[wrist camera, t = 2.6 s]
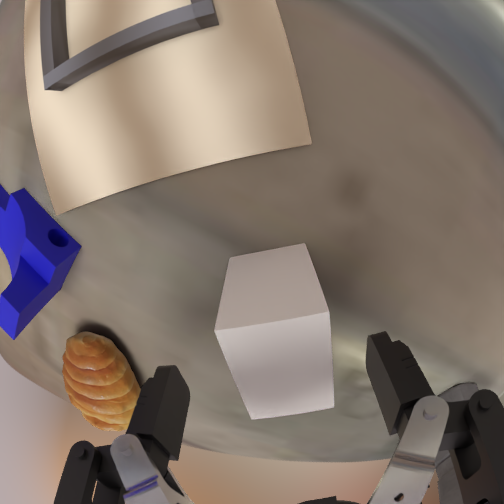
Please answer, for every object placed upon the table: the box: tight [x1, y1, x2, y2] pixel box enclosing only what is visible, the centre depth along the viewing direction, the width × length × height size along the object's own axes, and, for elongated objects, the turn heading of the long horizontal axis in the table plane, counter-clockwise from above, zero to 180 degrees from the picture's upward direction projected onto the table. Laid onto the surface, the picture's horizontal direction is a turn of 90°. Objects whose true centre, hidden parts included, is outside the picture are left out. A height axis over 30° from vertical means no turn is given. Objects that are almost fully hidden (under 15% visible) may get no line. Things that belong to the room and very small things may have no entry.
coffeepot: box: [420, 383, 479, 504], centre depth 14 cm, size 15×9×18 cm, turn 144°
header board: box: [24, 0, 312, 216], centre depth 8 cm, size 14×20×2 cm
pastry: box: [62, 332, 141, 431], centre depth 17 cm, size 9×7×4 cm
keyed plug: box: [214, 243, 334, 419], centre depth 14 cm, size 4×7×6 cm, turn 12°
